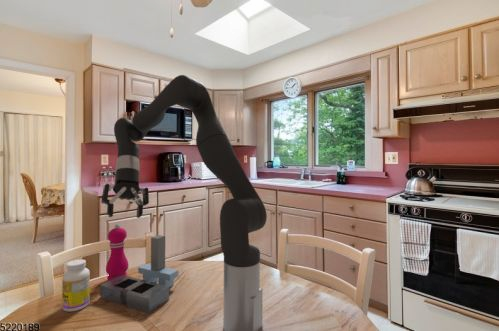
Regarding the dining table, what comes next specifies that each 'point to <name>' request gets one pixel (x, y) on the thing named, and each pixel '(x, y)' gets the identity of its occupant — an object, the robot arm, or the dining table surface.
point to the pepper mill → (117, 253)
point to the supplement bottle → (75, 286)
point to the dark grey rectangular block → (135, 293)
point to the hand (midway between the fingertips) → (125, 217)
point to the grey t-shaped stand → (158, 264)
